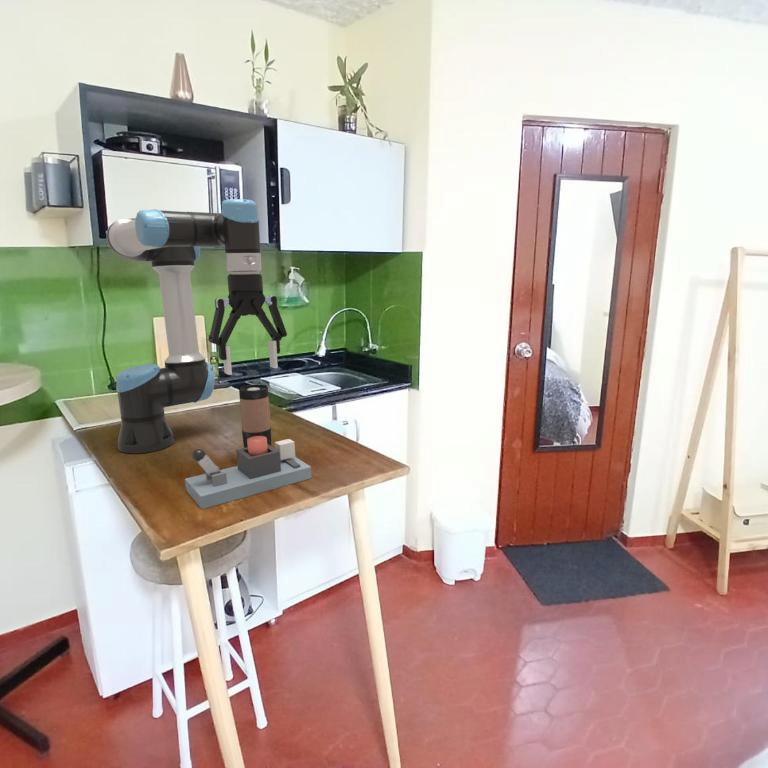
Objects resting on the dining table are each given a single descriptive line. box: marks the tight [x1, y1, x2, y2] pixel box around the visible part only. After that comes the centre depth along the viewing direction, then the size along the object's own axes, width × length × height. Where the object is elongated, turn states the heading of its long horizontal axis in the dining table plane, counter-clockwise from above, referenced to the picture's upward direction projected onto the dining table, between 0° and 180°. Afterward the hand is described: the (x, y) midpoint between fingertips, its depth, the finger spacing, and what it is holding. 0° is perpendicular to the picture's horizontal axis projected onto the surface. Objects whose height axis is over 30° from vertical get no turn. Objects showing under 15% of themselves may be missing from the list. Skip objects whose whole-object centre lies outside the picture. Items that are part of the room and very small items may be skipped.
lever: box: [192, 448, 221, 478], centre depth 118 cm, size 3×3×8 cm
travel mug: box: [238, 383, 273, 448], centre depth 140 cm, size 8×8×20 cm
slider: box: [274, 438, 296, 460], centre depth 131 cm, size 3×4×4 cm
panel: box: [184, 444, 313, 510], centre depth 124 cm, size 12×27×8 cm, turn 126°
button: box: [247, 436, 268, 456], centre depth 125 cm, size 5×5×6 cm
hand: (251, 370), depth 120 cm, fingers open, 10 cm apart
